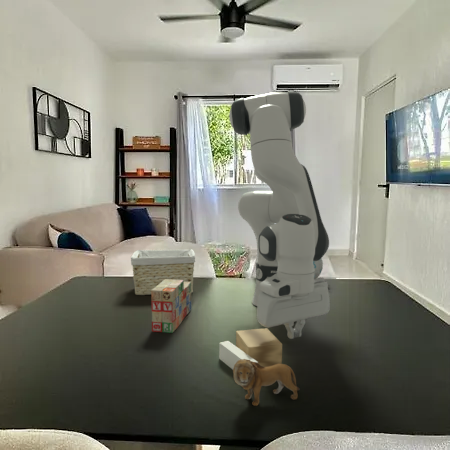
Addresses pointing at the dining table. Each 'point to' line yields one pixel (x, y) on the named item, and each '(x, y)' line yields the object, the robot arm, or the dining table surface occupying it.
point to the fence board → (232, 354)
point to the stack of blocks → (170, 304)
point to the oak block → (260, 346)
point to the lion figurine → (263, 378)
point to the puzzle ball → (317, 267)
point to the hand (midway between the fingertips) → (294, 336)
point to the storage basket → (161, 268)
